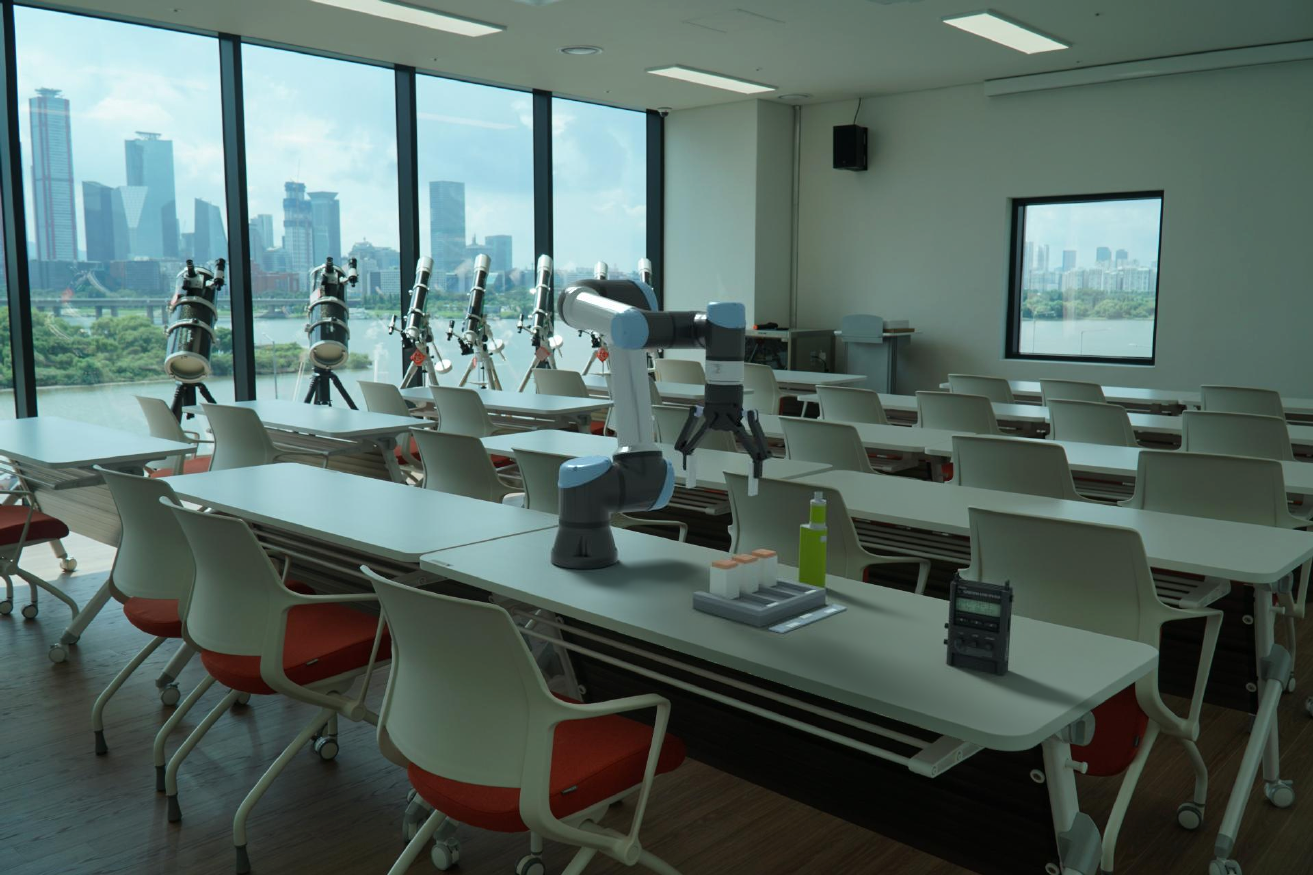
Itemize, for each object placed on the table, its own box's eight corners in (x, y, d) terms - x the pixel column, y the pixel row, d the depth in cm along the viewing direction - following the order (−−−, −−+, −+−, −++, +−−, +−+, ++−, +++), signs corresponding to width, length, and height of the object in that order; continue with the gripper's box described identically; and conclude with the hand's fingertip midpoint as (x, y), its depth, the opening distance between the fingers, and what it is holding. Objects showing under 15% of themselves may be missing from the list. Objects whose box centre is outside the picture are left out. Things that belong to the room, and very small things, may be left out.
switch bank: (692, 608, 191) (693, 592, 190) (760, 587, 206) (760, 572, 206) (759, 627, 180) (760, 609, 180) (825, 603, 195) (825, 587, 195)
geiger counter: (938, 664, 162) (942, 574, 160) (946, 657, 166) (951, 569, 164) (1003, 678, 156) (1009, 585, 154) (1011, 670, 160) (1017, 579, 158)
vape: (816, 590, 204) (819, 494, 201) (795, 584, 209) (798, 490, 206) (828, 587, 206) (832, 492, 204) (807, 581, 211) (810, 488, 208)
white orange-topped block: (748, 584, 200) (749, 551, 199) (760, 580, 203) (761, 548, 202) (764, 588, 197) (765, 555, 196) (776, 584, 200) (777, 551, 199)
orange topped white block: (709, 596, 191) (710, 562, 190) (722, 592, 194) (723, 558, 193) (725, 600, 188) (726, 565, 187) (739, 596, 191) (739, 562, 190)
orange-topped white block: (729, 590, 195) (730, 556, 194) (742, 586, 198) (743, 553, 197) (745, 594, 193) (746, 560, 192) (758, 590, 195) (759, 556, 195)
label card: (768, 629, 179) (768, 627, 179) (833, 605, 194) (834, 603, 194) (782, 633, 177) (782, 631, 176) (847, 608, 192) (847, 606, 192)
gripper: (658, 380, 195) (656, 486, 198) (775, 387, 182) (771, 501, 185) (677, 377, 202) (675, 481, 204) (791, 385, 189) (787, 495, 192)
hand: (721, 491), depth 195 cm, fingers open, 13 cm apart
